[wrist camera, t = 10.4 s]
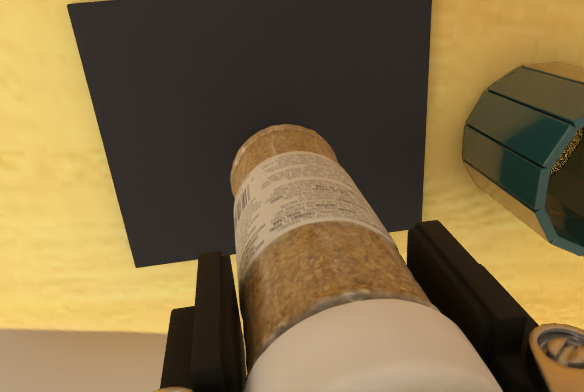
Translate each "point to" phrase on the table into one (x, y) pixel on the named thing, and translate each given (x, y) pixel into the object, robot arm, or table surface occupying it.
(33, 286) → the table surface
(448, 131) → the table surface
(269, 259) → the sprinkles bottle
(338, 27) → the felt mat
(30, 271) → the table surface
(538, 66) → the pen cup
